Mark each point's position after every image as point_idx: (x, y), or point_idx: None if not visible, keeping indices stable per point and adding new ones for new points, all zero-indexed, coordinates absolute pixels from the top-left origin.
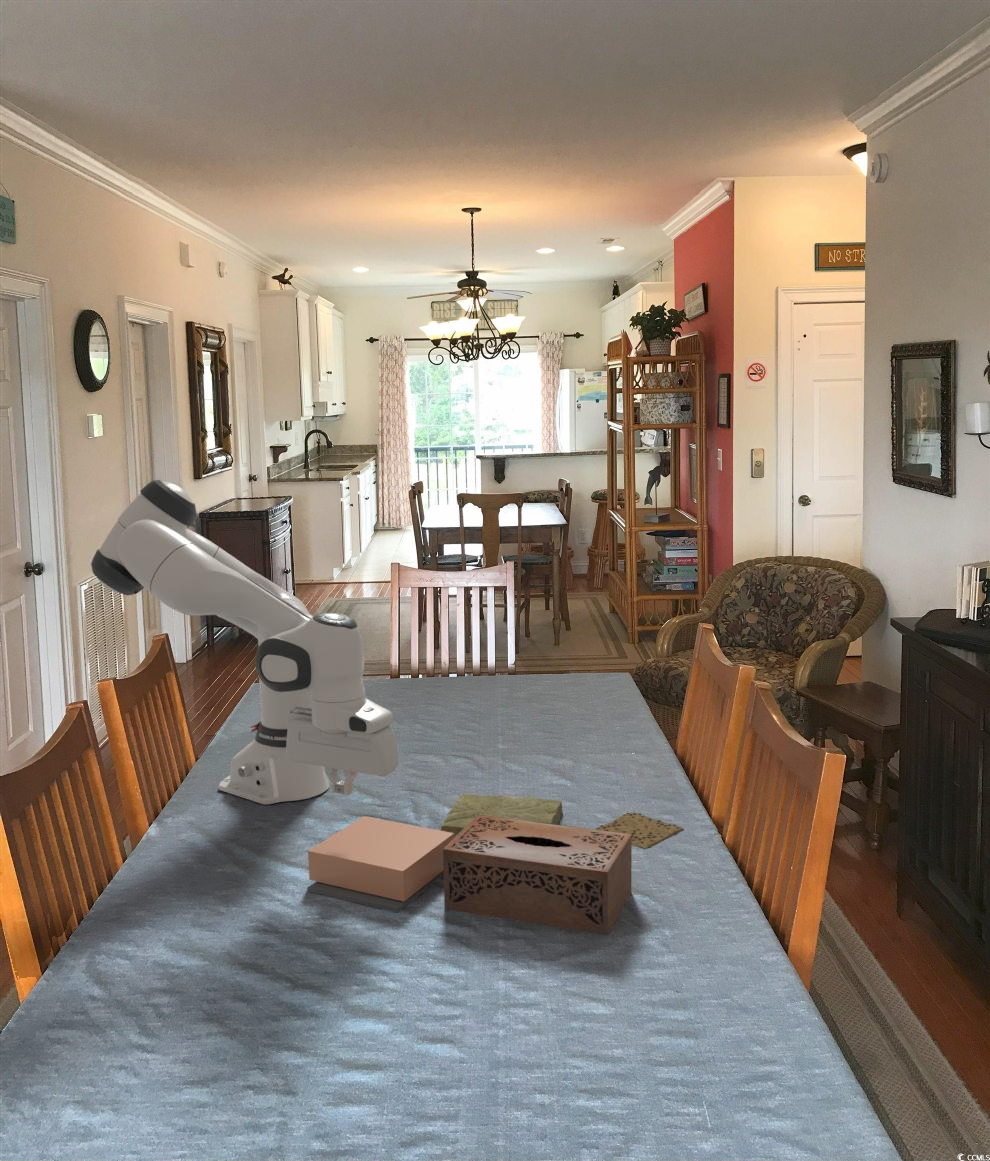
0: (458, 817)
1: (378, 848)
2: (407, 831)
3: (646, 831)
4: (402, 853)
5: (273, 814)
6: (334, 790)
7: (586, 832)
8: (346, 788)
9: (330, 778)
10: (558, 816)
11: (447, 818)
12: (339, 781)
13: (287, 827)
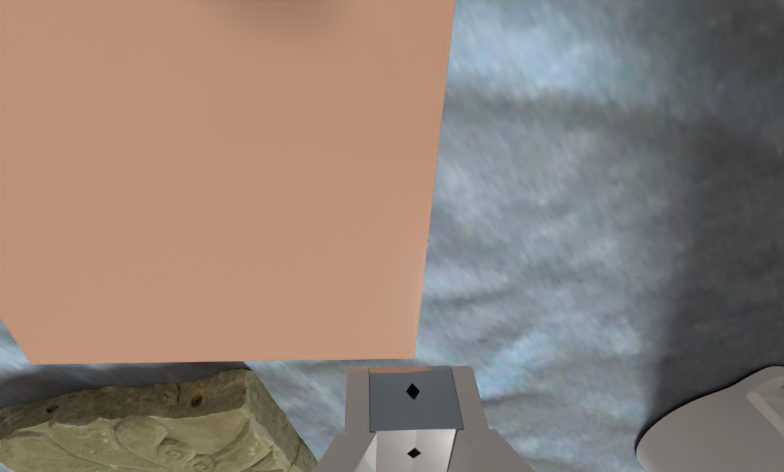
0: (235, 445)
1: (149, 160)
2: (184, 323)
3: None
4: (6, 157)
5: (734, 339)
6: (453, 378)
7: None
8: (346, 411)
9: (507, 467)
10: None
11: (250, 434)
12: (447, 460)
13: (674, 300)
